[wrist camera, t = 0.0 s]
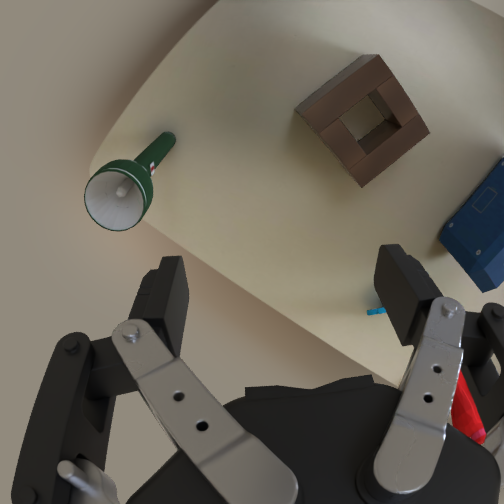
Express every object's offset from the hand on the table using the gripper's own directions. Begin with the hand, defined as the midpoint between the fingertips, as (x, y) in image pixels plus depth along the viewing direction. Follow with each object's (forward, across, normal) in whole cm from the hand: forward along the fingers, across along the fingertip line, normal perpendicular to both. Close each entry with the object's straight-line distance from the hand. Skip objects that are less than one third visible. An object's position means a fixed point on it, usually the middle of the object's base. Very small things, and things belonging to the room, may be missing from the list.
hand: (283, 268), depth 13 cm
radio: (+30, -38, +11) cm, 50 cm away
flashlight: (+30, +11, +1) cm, 32 cm away
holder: (+30, -13, -2) cm, 33 cm away
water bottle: (+30, -47, +54) cm, 78 cm away
